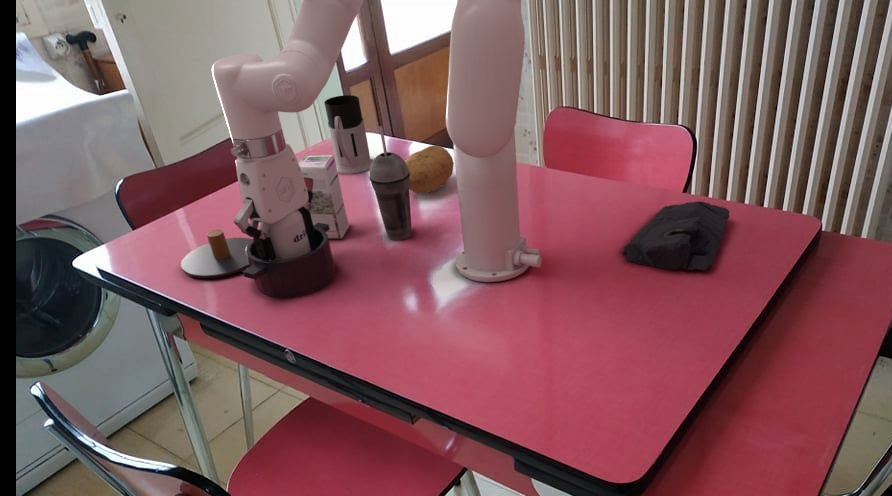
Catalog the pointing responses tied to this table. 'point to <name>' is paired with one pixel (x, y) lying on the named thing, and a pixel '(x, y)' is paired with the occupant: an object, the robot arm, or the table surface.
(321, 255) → the pan
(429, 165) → the potato
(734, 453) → the table surface
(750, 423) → the table surface
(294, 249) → the beverage can
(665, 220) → the black folded cloth
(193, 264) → the lid
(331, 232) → the syrup box
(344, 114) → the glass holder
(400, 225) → the beverage cup
